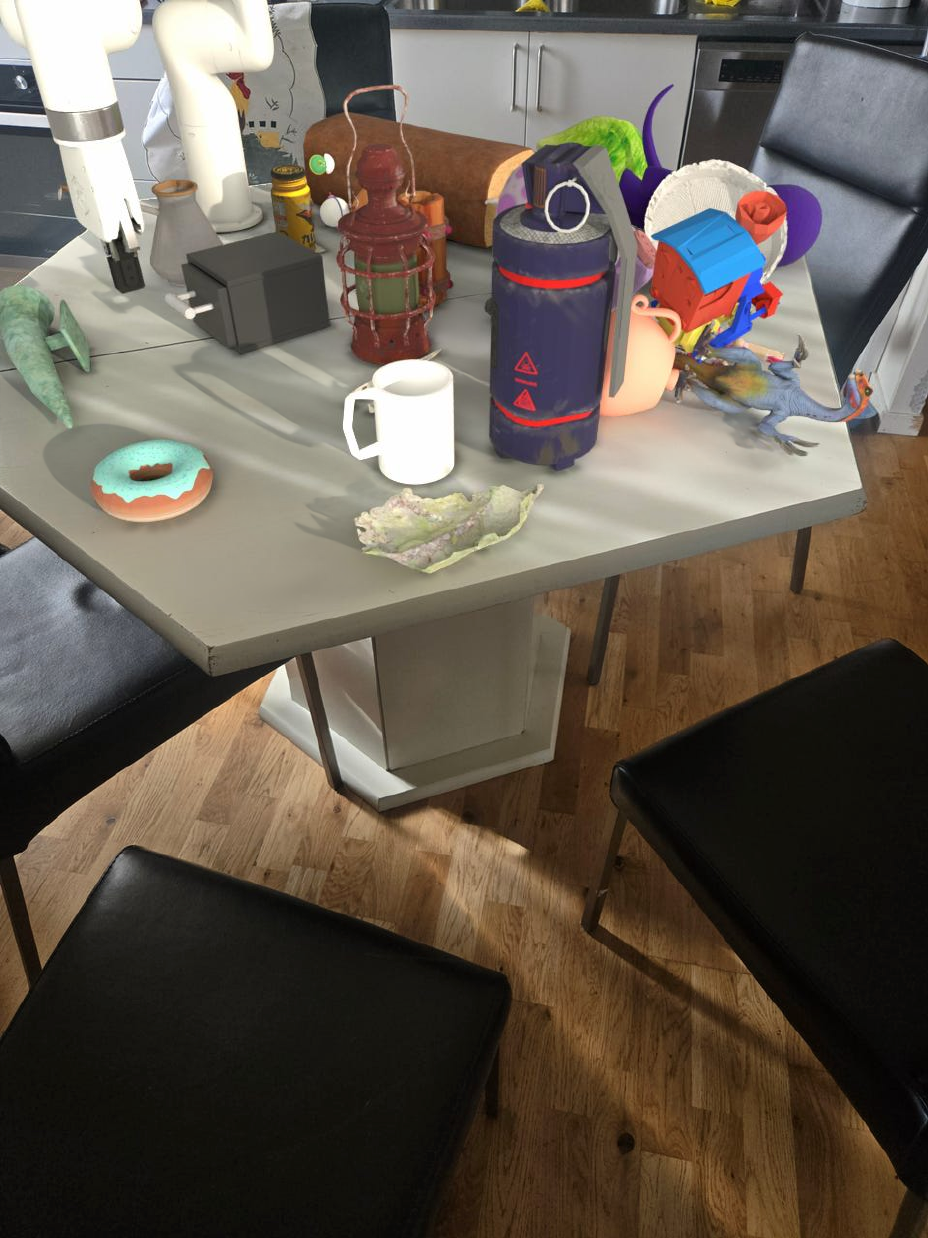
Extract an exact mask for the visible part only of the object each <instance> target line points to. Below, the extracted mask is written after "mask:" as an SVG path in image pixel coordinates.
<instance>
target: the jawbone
mask: <svg viewBox="0 0 928 1238" xmlns="http://www.w3.org/2000/svg"><path fill="white" fill-rule="evenodd" d="M441 351H442V349H441V348H438V349H436V350H435V351H433V352H431V353H429V354H426V355H424V356H423V357H421V358H419V360H428V361H431V360H432V359H433V358H434V357H435V356H437V355H438V354H439V353H440V352H441ZM365 387H366V388H365ZM372 387H373V385H372V379H370V380H368V381H367V382H365V383H364V384H362V385H360V386H358V387H357V388H356V389H353V390H352V391H351V392H349V393H348V395H347V396H349V395H350V394H351V393H353V392H357V391H361V390H365V389H368V388H372ZM363 388H364V389H363ZM356 401H358V399H354V404H355V403H356ZM367 406H368V412H369V413H370V414H375V410H374V402H372V403H367Z"/></svg>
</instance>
